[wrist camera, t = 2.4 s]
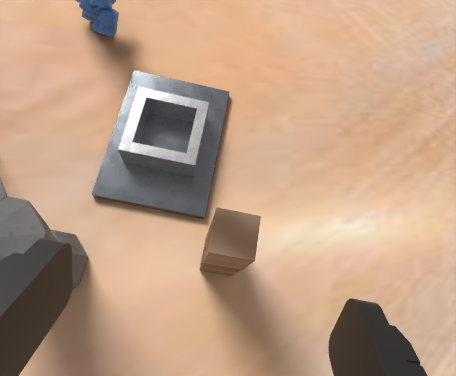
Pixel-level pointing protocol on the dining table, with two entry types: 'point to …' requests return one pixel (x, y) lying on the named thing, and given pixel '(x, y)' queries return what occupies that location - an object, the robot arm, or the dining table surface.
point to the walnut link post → (230, 242)
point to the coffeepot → (32, 232)
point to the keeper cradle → (164, 145)
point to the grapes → (100, 15)
